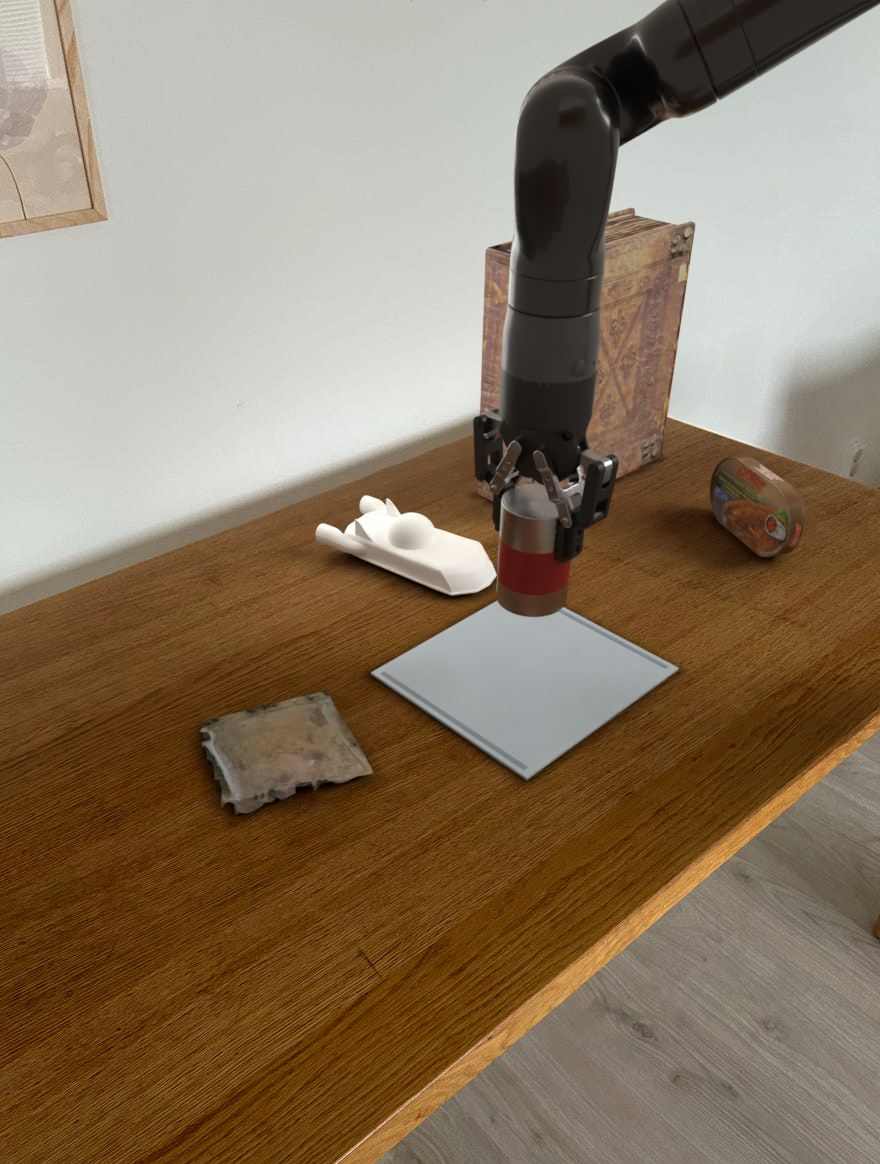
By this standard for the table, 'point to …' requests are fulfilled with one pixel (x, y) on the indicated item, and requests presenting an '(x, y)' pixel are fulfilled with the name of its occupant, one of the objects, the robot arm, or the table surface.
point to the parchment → (281, 750)
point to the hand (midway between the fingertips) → (535, 543)
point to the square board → (524, 682)
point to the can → (530, 554)
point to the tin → (757, 506)
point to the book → (614, 337)
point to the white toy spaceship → (412, 548)
